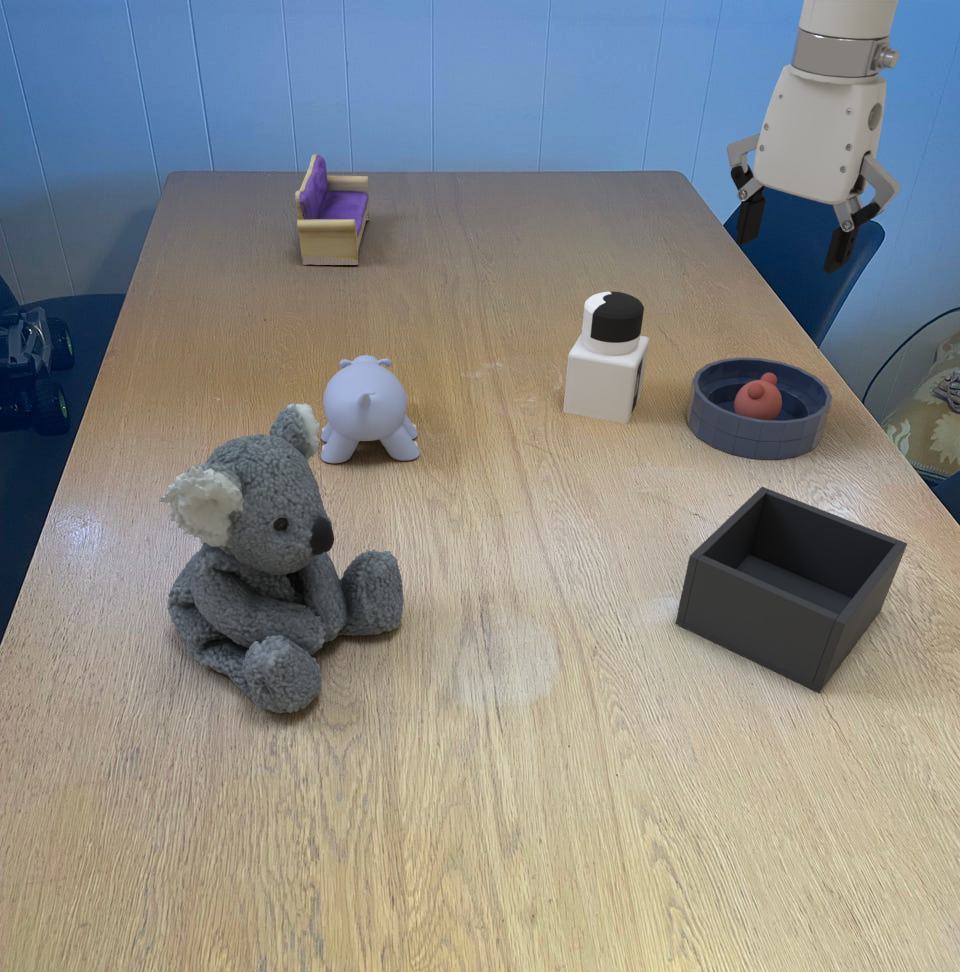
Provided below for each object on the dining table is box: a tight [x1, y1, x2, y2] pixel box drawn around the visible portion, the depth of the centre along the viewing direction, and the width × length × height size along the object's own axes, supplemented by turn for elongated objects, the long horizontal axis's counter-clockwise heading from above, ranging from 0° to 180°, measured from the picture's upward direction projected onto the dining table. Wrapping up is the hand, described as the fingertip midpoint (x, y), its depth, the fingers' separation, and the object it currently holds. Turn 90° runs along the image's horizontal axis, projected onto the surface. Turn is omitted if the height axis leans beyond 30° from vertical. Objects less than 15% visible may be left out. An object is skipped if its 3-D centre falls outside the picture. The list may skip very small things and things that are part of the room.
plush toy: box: [734, 373, 782, 420], centre depth 109 cm, size 5×5×6 cm
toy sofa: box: [294, 154, 371, 260], centre depth 147 cm, size 21×9×10 cm, turn 179°
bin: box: [675, 486, 908, 693], centre depth 84 cm, size 14×14×8 cm
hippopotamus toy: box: [320, 354, 421, 464], centre depth 104 cm, size 11×15×10 cm
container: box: [562, 291, 650, 425], centre depth 110 cm, size 8×8×13 cm
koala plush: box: [158, 401, 405, 714], centre depth 77 cm, size 17×18×20 cm
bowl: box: [685, 356, 833, 461], centre depth 109 cm, size 15×15×5 cm
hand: (788, 254), depth 95 cm, fingers open, 9 cm apart
